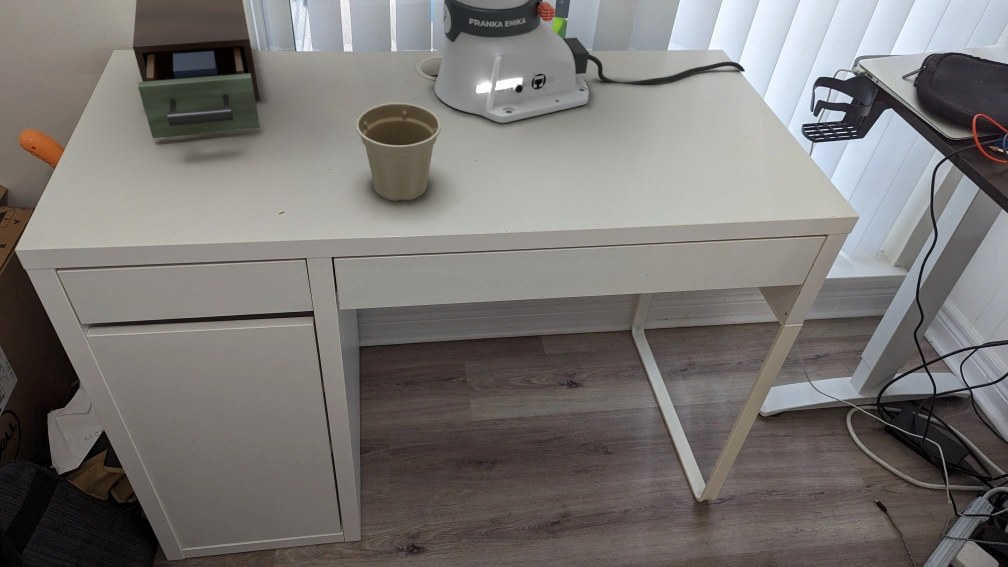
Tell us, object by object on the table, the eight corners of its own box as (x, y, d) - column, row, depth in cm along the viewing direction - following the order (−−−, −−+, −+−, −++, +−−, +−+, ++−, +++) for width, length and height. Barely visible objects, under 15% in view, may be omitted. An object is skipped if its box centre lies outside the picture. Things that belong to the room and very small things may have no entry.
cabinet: (260, 100, 99) (249, 38, 93) (150, 110, 95) (132, 46, 89) (251, 50, 110) (241, -8, 104) (152, 57, 106) (136, -3, 100)
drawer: (263, 148, 89) (254, 97, 84) (152, 160, 85) (136, 107, 80) (251, 75, 102) (242, 27, 97) (154, 83, 98) (141, 33, 94)
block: (222, 94, 95) (213, 50, 91) (224, 112, 92) (215, 67, 88) (183, 97, 94) (172, 53, 90) (184, 115, 91) (173, 71, 87)
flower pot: (427, 217, 82) (427, 152, 76) (348, 202, 83) (342, 137, 77) (448, 173, 89) (450, 110, 83) (375, 159, 90) (372, 96, 84)
